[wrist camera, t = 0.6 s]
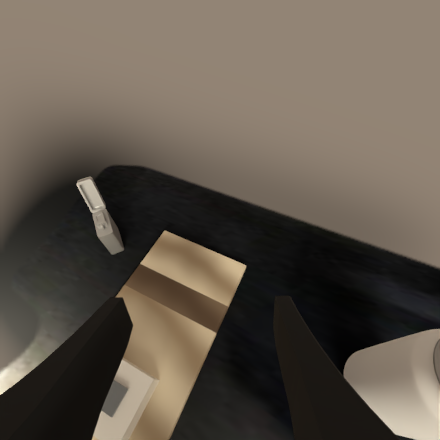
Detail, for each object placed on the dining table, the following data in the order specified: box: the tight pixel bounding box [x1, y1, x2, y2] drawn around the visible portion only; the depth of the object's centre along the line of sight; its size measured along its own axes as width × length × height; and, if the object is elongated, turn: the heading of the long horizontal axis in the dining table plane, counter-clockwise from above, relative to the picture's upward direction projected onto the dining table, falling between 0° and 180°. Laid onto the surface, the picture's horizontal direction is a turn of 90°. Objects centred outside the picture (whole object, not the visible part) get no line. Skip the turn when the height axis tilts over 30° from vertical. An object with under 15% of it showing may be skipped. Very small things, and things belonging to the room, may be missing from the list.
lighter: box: [77, 177, 124, 255], centre depth 30 cm, size 7×2×8 cm, turn 27°
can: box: [344, 329, 440, 440], centre depth 18 cm, size 6×6×12 cm
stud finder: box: [93, 358, 160, 440], centre depth 21 cm, size 5×6×3 cm
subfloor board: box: [92, 231, 246, 440], centre depth 24 cm, size 26×12×1 cm, turn 154°
